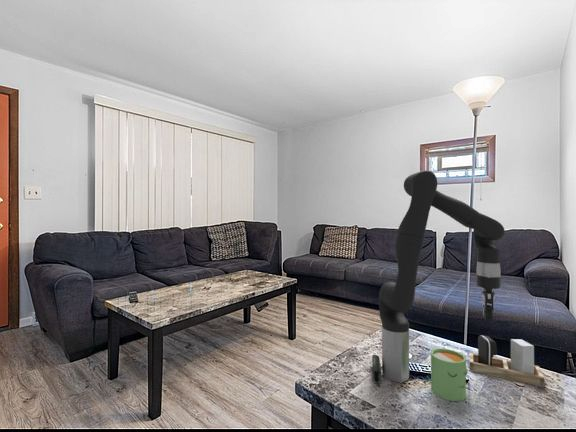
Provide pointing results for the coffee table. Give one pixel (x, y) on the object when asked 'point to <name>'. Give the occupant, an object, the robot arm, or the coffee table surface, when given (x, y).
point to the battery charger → (486, 350)
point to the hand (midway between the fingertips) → (488, 317)
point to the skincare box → (522, 356)
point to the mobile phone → (376, 369)
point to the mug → (448, 374)
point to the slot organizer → (506, 371)
